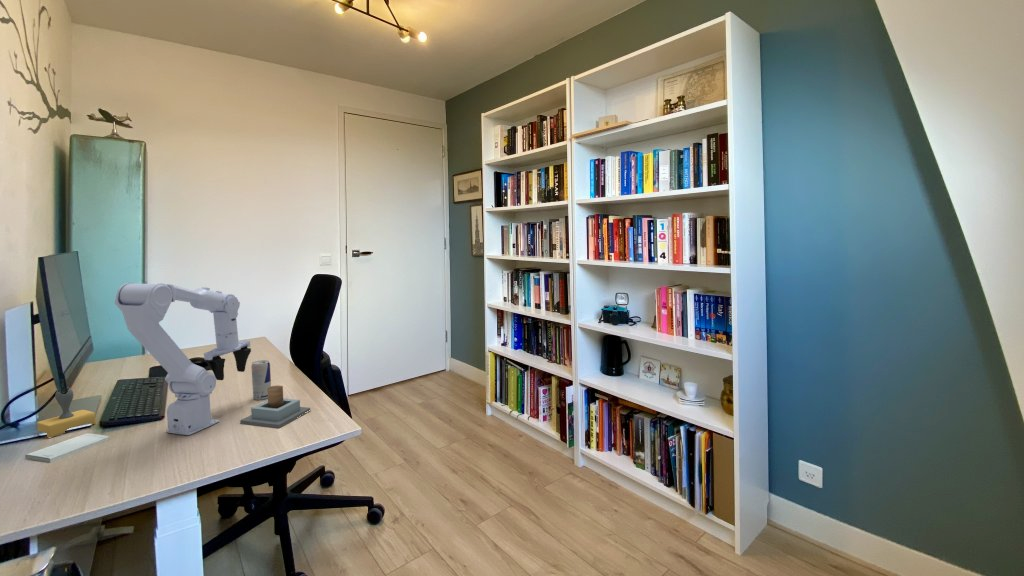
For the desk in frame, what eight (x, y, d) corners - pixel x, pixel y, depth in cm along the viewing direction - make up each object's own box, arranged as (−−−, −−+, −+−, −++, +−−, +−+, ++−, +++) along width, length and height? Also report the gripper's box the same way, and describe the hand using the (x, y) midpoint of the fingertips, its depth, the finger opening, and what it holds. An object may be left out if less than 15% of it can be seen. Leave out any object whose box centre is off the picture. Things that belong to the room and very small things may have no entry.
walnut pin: (277, 417, 127) (275, 390, 126) (265, 415, 128) (264, 389, 127) (287, 411, 131) (285, 386, 130) (275, 410, 132) (274, 385, 131)
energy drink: (275, 394, 148) (273, 360, 147) (264, 400, 143) (262, 364, 142) (260, 394, 149) (258, 359, 147) (249, 399, 143) (247, 364, 142)
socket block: (279, 428, 122) (278, 414, 121) (240, 423, 125) (239, 410, 124) (310, 410, 134) (309, 398, 134) (274, 407, 137) (273, 394, 137)
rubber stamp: (49, 439, 114) (44, 394, 113) (37, 435, 116) (32, 391, 115) (96, 424, 123) (92, 383, 122) (84, 421, 126) (80, 380, 124)
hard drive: (49, 458, 102) (109, 435, 114) (24, 454, 104) (85, 432, 116) (50, 465, 102) (110, 441, 114) (25, 461, 104) (86, 438, 116)
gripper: (215, 339, 125) (220, 385, 127) (256, 328, 139) (260, 368, 141) (196, 338, 127) (201, 382, 129) (238, 326, 141) (242, 367, 143)
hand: (230, 375), depth 135 cm, fingers open, 7 cm apart
